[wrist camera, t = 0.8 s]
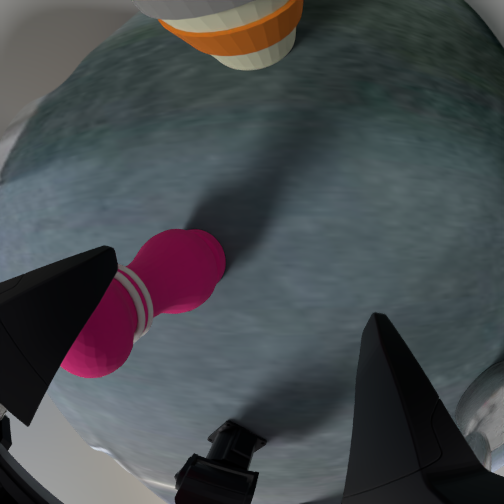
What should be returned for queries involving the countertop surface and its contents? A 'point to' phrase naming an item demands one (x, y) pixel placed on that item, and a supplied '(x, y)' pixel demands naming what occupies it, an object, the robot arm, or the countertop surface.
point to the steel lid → (480, 447)
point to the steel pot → (484, 406)
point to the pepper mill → (146, 297)
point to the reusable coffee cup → (231, 27)
